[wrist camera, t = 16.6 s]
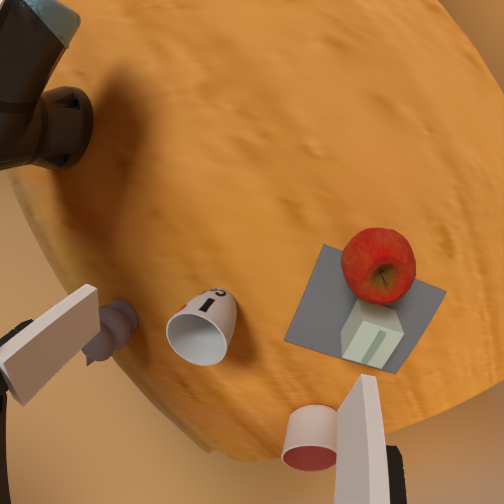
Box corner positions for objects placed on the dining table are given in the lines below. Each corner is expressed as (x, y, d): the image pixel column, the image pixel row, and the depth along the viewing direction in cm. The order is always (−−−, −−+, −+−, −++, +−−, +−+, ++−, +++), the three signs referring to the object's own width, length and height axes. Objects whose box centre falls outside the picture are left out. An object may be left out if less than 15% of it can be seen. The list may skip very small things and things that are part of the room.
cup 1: (234, 273, 42) (210, 307, 32) (253, 321, 44) (236, 362, 34) (187, 285, 44) (155, 317, 35) (207, 329, 46) (182, 367, 37)
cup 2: (278, 413, 49) (268, 454, 40) (321, 393, 46) (318, 437, 36) (309, 437, 50) (304, 476, 41) (351, 420, 47) (351, 461, 37)
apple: (325, 255, 38) (326, 292, 28) (362, 202, 35) (379, 221, 25) (375, 288, 38) (389, 332, 28) (412, 239, 35) (441, 270, 25)
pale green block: (340, 331, 40) (342, 360, 34) (358, 297, 38) (363, 323, 32) (376, 343, 39) (382, 371, 33) (395, 310, 37) (405, 336, 31)
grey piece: (284, 338, 43) (279, 360, 38) (323, 244, 38) (324, 258, 33) (395, 372, 41) (400, 394, 36) (445, 291, 35) (459, 309, 30)
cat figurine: (144, 339, 50) (109, 378, 39) (112, 329, 52) (75, 363, 41) (138, 299, 48) (97, 336, 36) (104, 291, 49) (62, 322, 38)
